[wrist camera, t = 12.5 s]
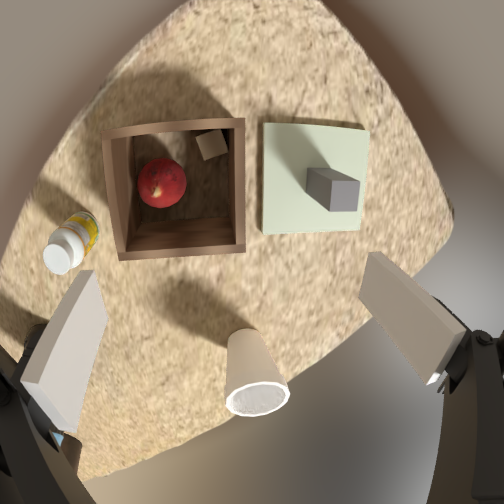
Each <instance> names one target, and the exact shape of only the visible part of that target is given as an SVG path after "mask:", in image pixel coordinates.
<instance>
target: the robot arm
mask: <svg viewBox="0 0 504 504" xmlns="http://www.w3.org/2000/svg"><path fill="white" fill-rule="evenodd" d="M358 298H359V299H360V300H361V302H362V303H363V304H364V305H365V307H366V308H367V309H368V310H369V312H370V313H371V314H372V315H373V317H374V318H375V319H376V320H377V321H378V323H379V324H380V325H381V327H382V328H383V329H384V330H385V332H386V333H387V334H388V336H389V337H390V338H391V339H392V341H393V342H394V343H395V345H396V346H397V347H398V348H399V350H400V351H401V352H402V354H403V355H404V356H405V358H406V359H407V360H408V362H409V363H410V364H411V366H412V367H413V368H414V370H415V371H416V373H417V374H418V375H419V376H420V378H421V379H422V381H423V382H424V383H425V385H428V384H430V383H432V382H435V381H437V380H438V379H439V378H440V376H441V375H442V373H443V371H444V370H445V371H446V372H447V373H448V375H447V376H446V378H445V379H444V381H443V382H442V384H441V386H440V387H439V389H438V393H439V392H440V391H441V390H442V388H443V387H445V389H444V391H443V393H442V394H444V406H443V417H442V426H441V435H440V442H439V448H438V455H437V460H436V465H435V470H434V475H433V480H432V484H431V488H430V492H429V496H428V500H427V503H426V504H504V379H503V377H502V376H503V375H504V330H503V332H502V334H501V336H500V337H499V338H492V337H491V335H489V334H488V333H487V332H484V331H482V330H475V331H473V332H472V331H471V330H470V329H469V328H468V327H467V326H466V325H465V324H464V323H463V322H462V321H461V320H460V319H459V318H458V317H457V316H456V315H455V314H452V311H450V310H449V309H448V308H447V307H446V306H445V305H444V304H443V303H442V302H441V301H440V300H438V299H436V298H435V297H433V296H431V295H430V294H429V293H428V292H427V291H425V290H424V289H423V288H422V287H421V286H420V285H419V284H418V283H417V282H416V281H414V280H413V279H412V278H411V277H410V276H409V275H408V274H406V273H405V272H404V271H403V270H402V269H401V268H400V267H398V266H397V265H396V264H395V263H394V262H392V261H391V260H390V259H389V258H388V257H387V256H385V255H384V254H383V253H382V252H369V253H368V258H367V263H366V267H365V272H364V276H363V281H362V285H361V289H360V293H359V297H358ZM107 321H108V316H107V312H106V309H105V306H104V303H103V299H102V296H101V292H100V289H99V285H98V282H97V278H96V274H95V270H81V271H80V272H79V273H78V275H77V276H76V278H75V279H74V281H73V283H72V284H71V286H70V287H69V289H68V290H67V292H66V294H65V295H64V297H63V299H62V300H61V302H60V304H59V305H58V307H57V309H56V310H55V312H54V314H53V316H52V317H51V319H50V321H49V323H48V325H47V324H39V325H35V326H34V327H32V328H31V329H30V331H29V333H28V334H27V336H26V338H25V343H24V351H23V354H22V357H21V358H20V360H19V362H18V363H17V362H16V361H15V360H14V359H13V358H12V357H11V356H10V355H9V354H8V353H7V351H6V350H5V349H4V348H3V347H2V346H1V345H0V504H96V502H95V501H94V500H93V498H92V497H91V496H90V494H89V493H88V491H87V490H86V488H85V487H84V485H83V484H82V482H81V481H80V479H79V478H78V476H77V475H76V473H75V472H74V470H73V468H72V467H71V465H70V463H69V462H68V460H67V458H66V457H65V455H64V453H63V451H62V449H61V448H60V445H61V442H62V440H63V438H64V437H63V434H64V431H68V432H73V433H76V432H77V427H78V422H79V418H80V413H81V409H82V405H83V401H84V397H85V393H86V389H87V385H88V382H89V378H90V374H91V371H92V367H93V364H94V361H95V357H96V354H97V351H98V348H99V345H100V342H101V338H102V335H103V332H104V330H105V327H106V324H107Z"/></svg>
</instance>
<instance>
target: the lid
mask: <svg viewBox="0 0 504 504" xmlns="http://www.w3.org/2000/svg"><path fill="white" fill-rule="evenodd" d="M369 138H370V131H366V130H359V129H351V128H342V127H332V126H321V125H308V124H291V123H263V144H262V217H261V232H262V234H263V235H270V234H288V233H308V232H329V231H351V230H360V224H361V217H362V209H363V202H364V193H365V185H366V175H367V165H368V153H369Z"/></svg>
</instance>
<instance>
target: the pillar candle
mask: <svg viewBox="0 0 504 504" xmlns="http://www.w3.org/2000/svg"><path fill="white" fill-rule="evenodd" d="M63 437H64V438H63V440H62V442H61V445H60V448H61V449H62V451H63V453H64V455H65V457H66V458H67V460H68V462H69V463H70V465H71V467H72V468H73V470H74V472H75V473H76V475H77V471H78V465H79V459H80V454H81V448H82V443H81V442H80V441H78V440H77V439H76V438H74V437H72V436H70V435H67V434H63Z"/></svg>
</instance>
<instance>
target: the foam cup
mask: <svg viewBox="0 0 504 504" xmlns="http://www.w3.org/2000/svg"><path fill="white" fill-rule="evenodd" d="M289 395H290V392H289V390H288V386H287V383H286V381H285V378H284V376H283V375H282V374H281V373H280V371H279V369H278V367H277V365H276V363H275V361H274V359H273V357H272V355H271V353H270V351H269V349H268V347H267V345H266V343H265V341H264V339H263V337H262V335H261V333H260V332H258V331H257V330H255V329H249V328H246V329H240V330H238V331H236V332H234V333H232V334H231V336H230V337H229V338H228V346H227V367H226V385H225V391H224V396H225V404H226V407H227V408H228V409H229V410H230V411H231V412H232V413H235V414H238V415H240V416H259V415H264V414H268V413H271V412H273V411H275V410H277V409H279V408H280V407H281V406H283V405H284V404H285V403H286V402H287V401H288V398H289Z"/></svg>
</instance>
